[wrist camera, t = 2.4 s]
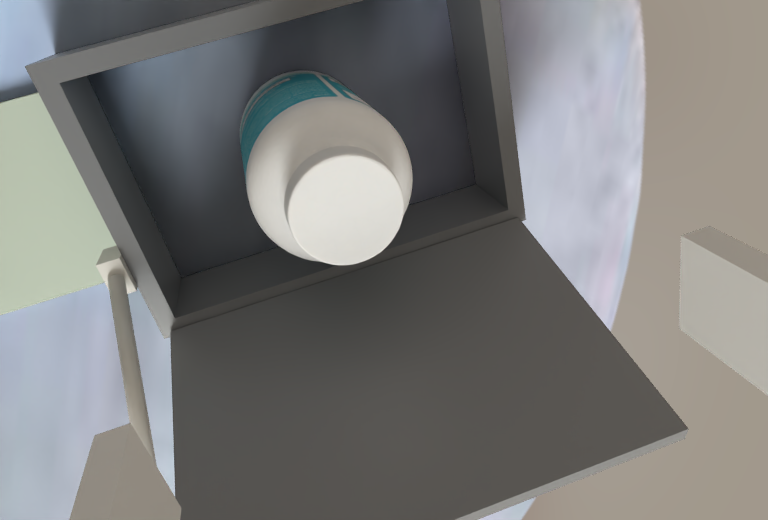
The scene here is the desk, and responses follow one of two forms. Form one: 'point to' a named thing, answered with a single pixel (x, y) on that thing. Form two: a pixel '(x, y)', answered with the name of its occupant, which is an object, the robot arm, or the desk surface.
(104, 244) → the mat
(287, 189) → the pill bottle
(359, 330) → the case
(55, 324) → the desk surface
